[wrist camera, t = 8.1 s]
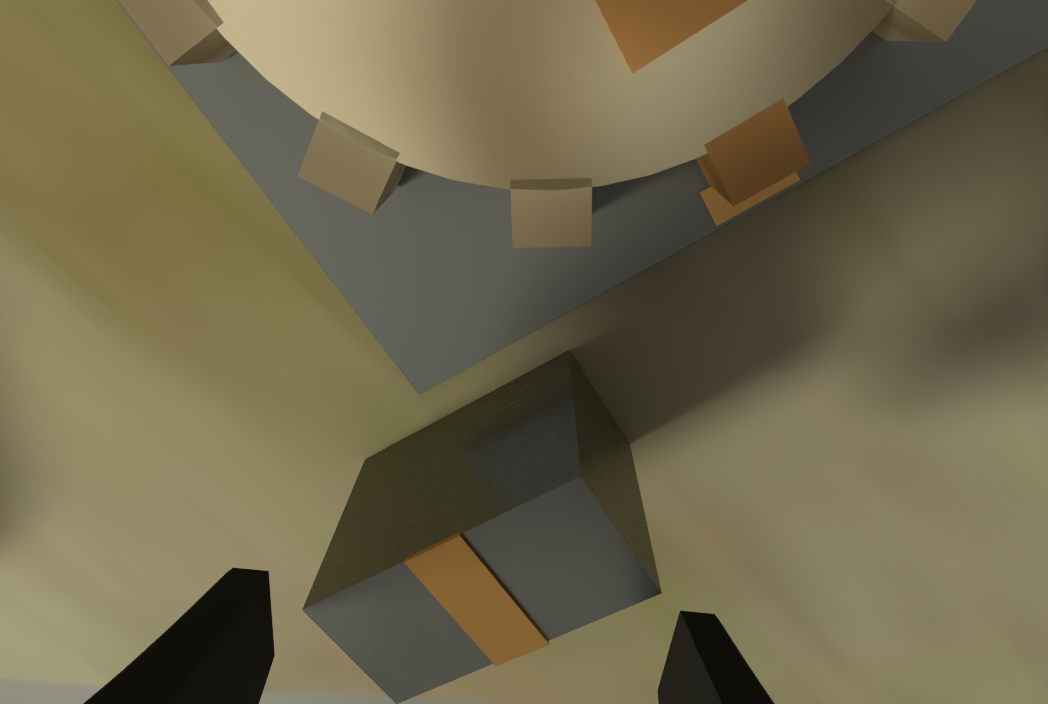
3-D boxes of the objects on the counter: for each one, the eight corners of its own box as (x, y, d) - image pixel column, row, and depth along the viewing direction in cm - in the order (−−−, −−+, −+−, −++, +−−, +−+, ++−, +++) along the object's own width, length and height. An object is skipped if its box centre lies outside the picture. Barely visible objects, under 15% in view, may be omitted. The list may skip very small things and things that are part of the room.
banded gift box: (629, 442, 17) (662, 596, 12) (433, 538, 18) (396, 707, 14) (568, 348, 16) (579, 477, 11) (365, 457, 17) (300, 612, 13)
